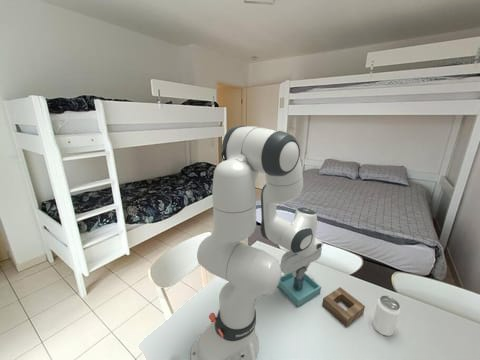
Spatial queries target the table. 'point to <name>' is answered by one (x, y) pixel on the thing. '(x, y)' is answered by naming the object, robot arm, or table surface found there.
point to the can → (386, 315)
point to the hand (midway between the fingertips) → (299, 273)
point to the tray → (299, 296)
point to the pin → (299, 278)
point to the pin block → (338, 312)
